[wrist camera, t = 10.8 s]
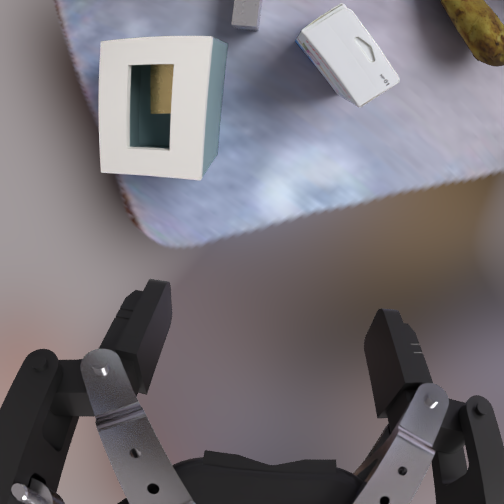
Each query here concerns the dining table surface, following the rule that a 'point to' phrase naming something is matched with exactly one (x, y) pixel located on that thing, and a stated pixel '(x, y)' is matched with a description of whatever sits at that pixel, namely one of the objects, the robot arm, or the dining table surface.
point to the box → (160, 125)
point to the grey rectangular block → (246, 14)
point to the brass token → (161, 88)
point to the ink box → (347, 56)
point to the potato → (478, 29)
